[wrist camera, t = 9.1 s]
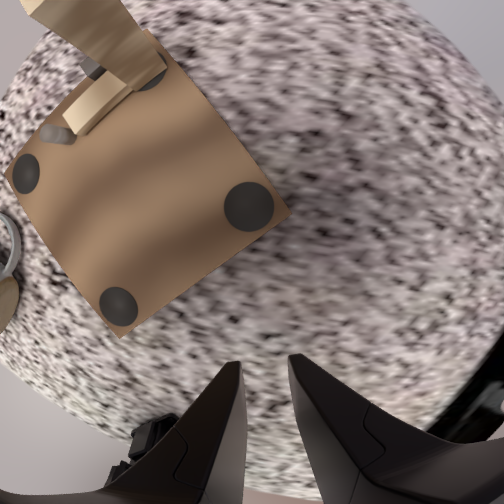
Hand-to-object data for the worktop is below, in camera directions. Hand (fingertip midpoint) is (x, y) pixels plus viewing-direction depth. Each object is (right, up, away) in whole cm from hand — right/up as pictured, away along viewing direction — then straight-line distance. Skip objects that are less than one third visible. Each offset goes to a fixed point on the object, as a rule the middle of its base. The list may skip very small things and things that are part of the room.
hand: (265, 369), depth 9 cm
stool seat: (-9, +8, +11) cm, 17 cm away
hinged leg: (-10, +14, +8) cm, 19 cm away
